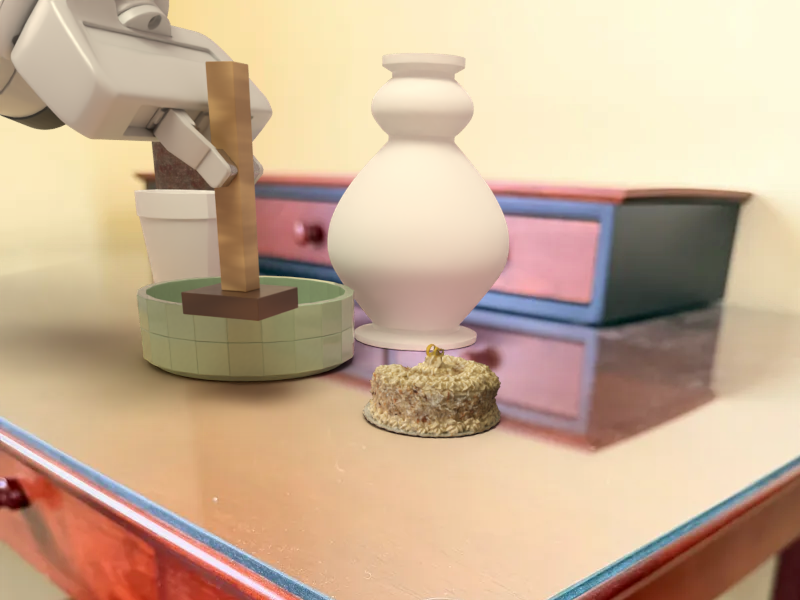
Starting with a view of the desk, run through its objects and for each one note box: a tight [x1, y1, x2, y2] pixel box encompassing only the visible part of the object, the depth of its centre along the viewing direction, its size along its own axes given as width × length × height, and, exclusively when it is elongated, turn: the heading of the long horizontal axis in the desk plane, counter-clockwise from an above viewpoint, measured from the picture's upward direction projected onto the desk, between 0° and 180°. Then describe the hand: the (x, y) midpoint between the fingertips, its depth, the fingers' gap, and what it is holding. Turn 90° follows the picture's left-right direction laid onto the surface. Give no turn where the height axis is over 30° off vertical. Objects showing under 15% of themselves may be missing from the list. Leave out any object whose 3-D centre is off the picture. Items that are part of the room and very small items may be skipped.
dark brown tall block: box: [151, 141, 215, 191], centre depth 97 cm, size 8×7×20 cm
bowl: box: [136, 275, 355, 382], centre depth 73 cm, size 19×19×6 cm
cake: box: [362, 344, 502, 438], centre depth 58 cm, size 10×10×5 cm
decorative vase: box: [327, 52, 510, 352], centre depth 79 cm, size 18×18×25 cm
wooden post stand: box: [181, 60, 298, 321], centre depth 56 cm, size 6×6×16 cm
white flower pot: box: [133, 189, 221, 283], centre depth 89 cm, size 10×9×13 cm
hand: (240, 180), depth 55 cm, fingers closed on wooden post stand
